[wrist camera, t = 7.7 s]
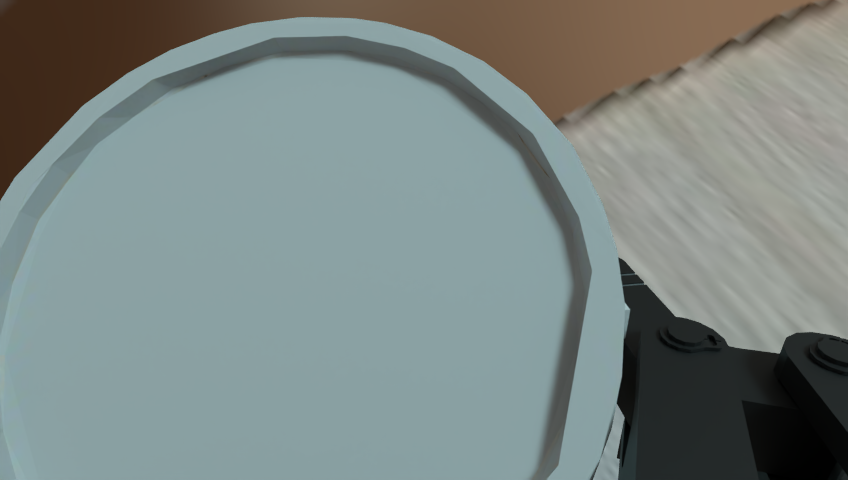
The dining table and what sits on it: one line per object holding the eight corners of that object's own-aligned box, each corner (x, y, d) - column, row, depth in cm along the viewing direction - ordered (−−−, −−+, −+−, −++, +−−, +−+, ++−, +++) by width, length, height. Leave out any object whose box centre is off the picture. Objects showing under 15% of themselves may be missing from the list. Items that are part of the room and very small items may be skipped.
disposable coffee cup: (378, 546, 15) (172, 1129, 3) (222, 343, 17) (-212, 266, 6) (558, 350, 17) (827, 283, 5) (395, 193, 19) (332, -91, 8)
